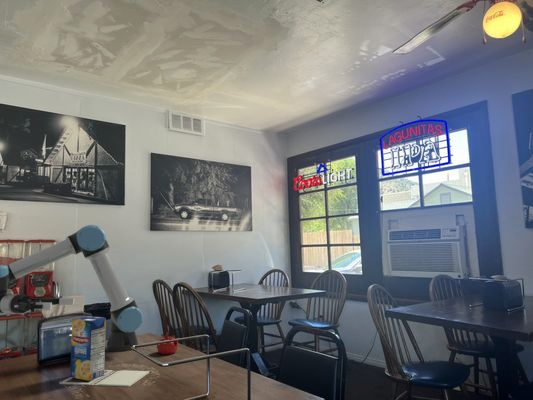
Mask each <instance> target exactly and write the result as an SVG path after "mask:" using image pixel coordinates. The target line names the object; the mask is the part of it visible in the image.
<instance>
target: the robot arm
mask: <svg viewBox="0 0 533 400" xmlns="http://www.w3.org/2000/svg"><path fill="white" fill-rule="evenodd" d="M106 238H107V237H106V233H105V231H104V230H103V229H102V228H101V227H100V226H98V225H95V224H88V225H84V226H83V227H81V228H80V229H79V230H77V231H76V232H74V233H72V234H71V235H68V236H66V238H65V239H64V240H61V241H59V242H57V243H55V244H52V245H50V246H48V247H46V248H43V249H41V250H39V251H37V252H34V253H32V254H29V255H27V256H25V257H23V258H21V259H18V260H15V261H14V262H11V263H9V264H8V265H6V264H5V265H0V314H8V315H9V316H10V315H11V314H25V313H26V312H30V313H34V312H35V311H52V310H53V308H52V307H53V306H55V305H59V306H74V305H75V297H62V295H61V296H59V297H50V298H49V297H48V298H46V297H45V298H43V297H42V298H41V297H40V298H37V297H36V298H35V297H34V298H33V297H32V298H31V296H30V295H28V294H23V293H21V294H18V293H14V294H12V293H8V284H9V283H12V282H14V281H15V280H18V279H20V278H23V277H25V276H27V275H29V274H31V273H33V272H35V271H38V270H40V269H42V268H44V267H47V266H49V265H51V264H53V263H55V262H57V261H60V260H62V259H64V258H66V257H68V256H71V255H78V254H80V253H82V255H83V257H84V259H85V260H89V261H90V263H91V265H92V267H93V270H94V271H95V274H96V276H97V278H98V280H99V282H100V285H101V287H102V288H103V289H102V290H104V293H105V295H106V297H107V299H108V301H109V303H110V309H109V311H110V333H109V336H108V339H107V342H106V344H105V351H108V352H125V351H131V350H130V349H131V347H132V346H133V345H138V346H139V340H138V336H137V334H136V331H137V330H138V329H139V328H140V327H141V326H142V323H143V320H144V314H143V311H142V310H141V309H140V308H139V307H138V305H137V303H136V301H135V299H134V298H133V297H131V296H129V294H128V292H127V289H126V288H125V285H124V283H123V280H122V279H121V276H120V275H119V273H118V270H117V268H116V265H115V264H114V262H113V260H112V257H111V254H110V253H109V250H110V245H109V243H108V240H107V239H106Z"/></svg>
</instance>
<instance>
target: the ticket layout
mask: <svg viewBox="0 0 533 400" xmlns="http://www.w3.org/2000/svg"><path fill="white" fill-rule="evenodd" d="M149 372H150V370H127V369H126V370H124V369H123V370H111V369H110V370H109V369H104V376H101V377H98V378H96V379H93V380H90V381H88V382H74V381H72V382H71V380H73V379H74V378H72V377H68V378H66V379H64V380H62V381H59V385H80V386H98V385H99V386H107V387H129V388H130V387H131V386H132V385H133V384H136V382H138V381H139V380H141V379H142V378H144V377H145V376H147V375H148V374H149Z"/></svg>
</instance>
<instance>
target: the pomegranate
mask: <svg viewBox="0 0 533 400" xmlns="http://www.w3.org/2000/svg"><path fill="white" fill-rule="evenodd" d="M165 334H166V335H165V336H162V337H161V336H160V337H159V336H158V338H159V340H158V342H159V341H164V340H168V339H176V337H174V335H171V336H170V335H169V332H166V333H165ZM158 342H157V343H158ZM178 347H179V342H178V341H177V342H171V343H166V344H160V345H156V349H157V352H158V353H159V354H161V355H172V354H175V353H176V352H177V350H178V349H179V348H178Z"/></svg>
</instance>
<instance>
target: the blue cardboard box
mask: <svg viewBox="0 0 533 400" xmlns="http://www.w3.org/2000/svg"><path fill="white" fill-rule="evenodd" d="M106 323H107V318H106V317H103V316H102V317H101V316H91V315H90V316H89V315H85V316H81V317H76V318H72V321H71V340H70V341H71V344H70V345H71V348H70V371H69V372H70V374H69V376H70V377H72V378H73V379H79V380H83V381H88V382H91V381H92V380H94V379H96V378H98V377H101V376H104V374H105V372H104V370H105V362H106V361H105V360H106ZM70 377H69V378H70ZM104 377H105V376H104Z"/></svg>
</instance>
